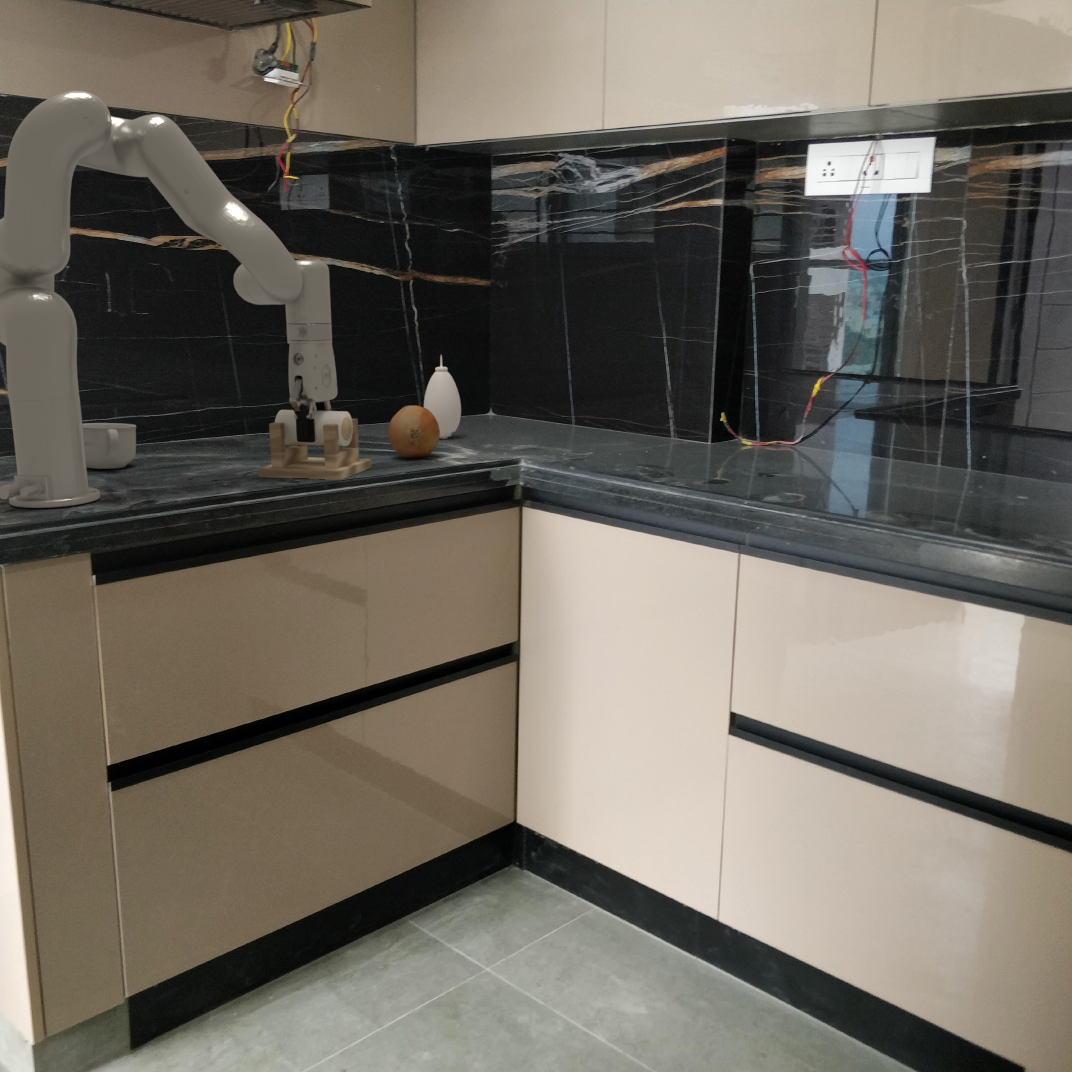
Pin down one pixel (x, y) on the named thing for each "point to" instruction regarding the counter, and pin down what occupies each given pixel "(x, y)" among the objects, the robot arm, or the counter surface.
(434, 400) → the sauce bottle
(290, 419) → the towel roll
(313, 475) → the roll holder
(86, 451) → the teacup
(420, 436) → the orange
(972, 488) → the counter surface
